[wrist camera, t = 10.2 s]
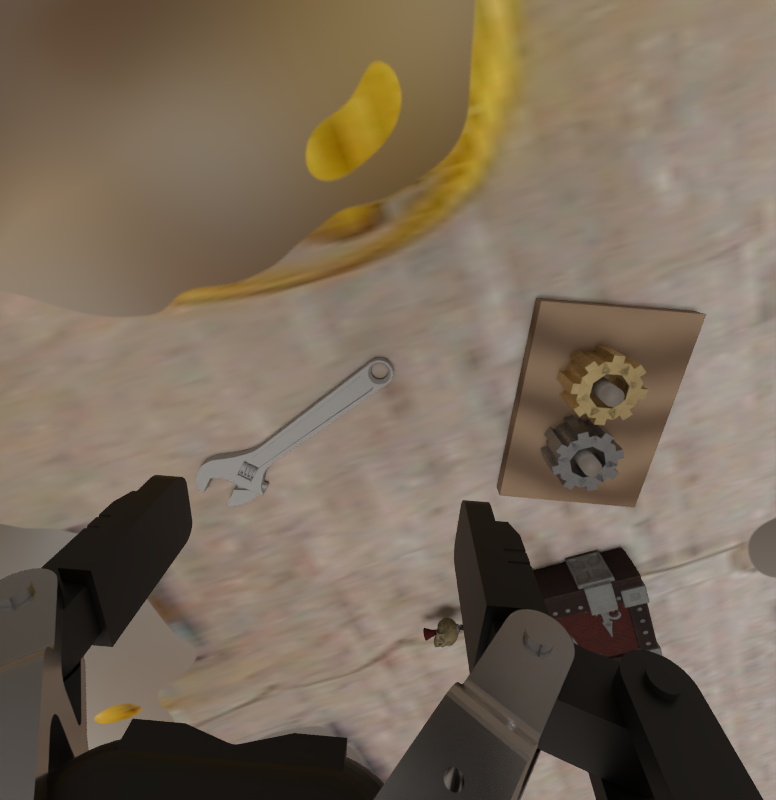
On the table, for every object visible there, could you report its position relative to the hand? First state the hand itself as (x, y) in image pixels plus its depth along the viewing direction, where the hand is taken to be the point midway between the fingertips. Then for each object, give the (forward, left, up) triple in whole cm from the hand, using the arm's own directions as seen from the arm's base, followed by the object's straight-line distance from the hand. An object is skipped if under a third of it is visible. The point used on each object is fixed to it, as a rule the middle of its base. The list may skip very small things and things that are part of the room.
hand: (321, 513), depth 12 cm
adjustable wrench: (+13, -8, -29) cm, 32 cm away
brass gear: (+3, +20, -26) cm, 33 cm away
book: (+35, +21, -29) cm, 50 cm away
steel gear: (+10, +20, -26) cm, 35 cm away
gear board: (+7, +21, -28) cm, 35 cm away
